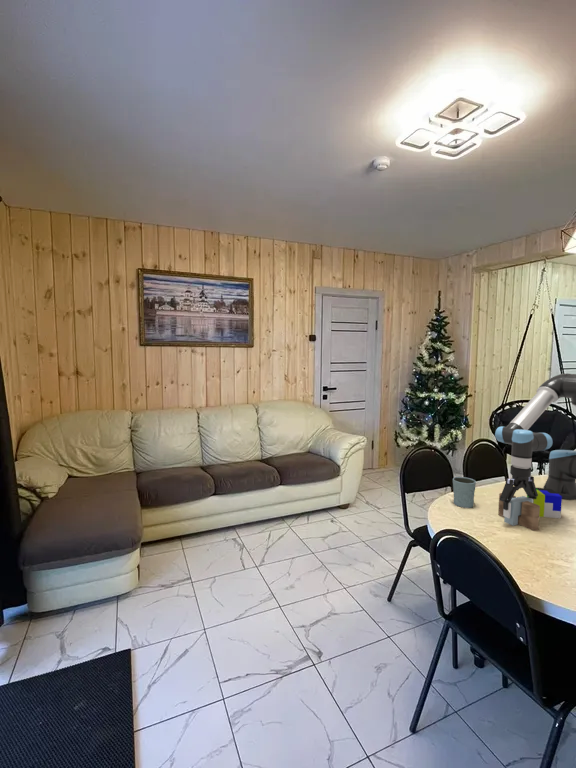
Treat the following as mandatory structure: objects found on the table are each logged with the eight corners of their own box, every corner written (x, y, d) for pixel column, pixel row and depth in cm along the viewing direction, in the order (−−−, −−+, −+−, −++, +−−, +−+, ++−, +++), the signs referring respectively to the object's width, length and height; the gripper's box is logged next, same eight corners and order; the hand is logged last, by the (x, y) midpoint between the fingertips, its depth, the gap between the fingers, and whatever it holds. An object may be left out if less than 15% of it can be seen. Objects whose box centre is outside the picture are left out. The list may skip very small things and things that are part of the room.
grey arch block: (522, 518, 167) (523, 496, 166) (530, 521, 163) (532, 499, 162) (504, 521, 163) (505, 499, 162) (512, 525, 159) (513, 502, 158)
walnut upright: (498, 515, 170) (499, 493, 169) (503, 513, 171) (505, 492, 170) (532, 530, 155) (533, 506, 154) (538, 529, 156) (539, 505, 155)
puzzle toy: (560, 518, 167) (562, 496, 166) (535, 516, 169) (536, 494, 168) (549, 509, 177) (551, 488, 176) (526, 507, 179) (527, 487, 178)
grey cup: (467, 510, 175) (468, 484, 174) (447, 503, 183) (448, 478, 182) (478, 505, 181) (480, 480, 180) (458, 498, 189) (459, 475, 188)
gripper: (532, 461, 169) (529, 507, 170) (491, 466, 160) (489, 515, 162) (549, 465, 162) (546, 514, 163) (507, 471, 153) (504, 522, 155)
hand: (517, 514), depth 162 cm, fingers open, 13 cm apart
